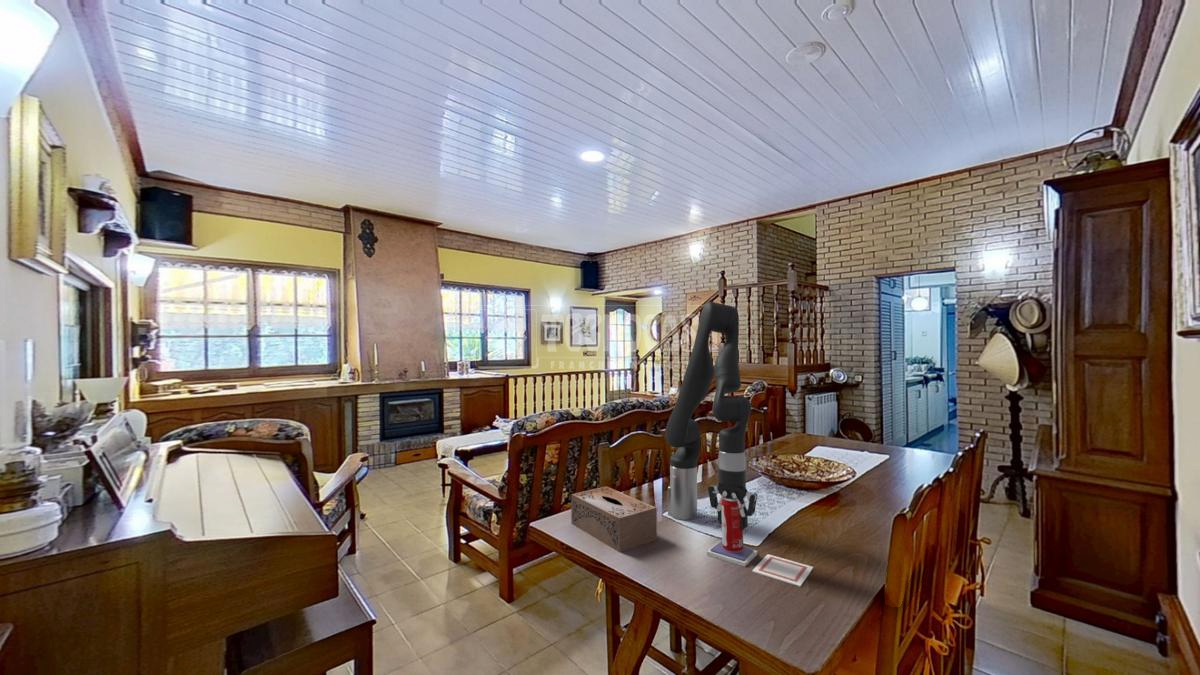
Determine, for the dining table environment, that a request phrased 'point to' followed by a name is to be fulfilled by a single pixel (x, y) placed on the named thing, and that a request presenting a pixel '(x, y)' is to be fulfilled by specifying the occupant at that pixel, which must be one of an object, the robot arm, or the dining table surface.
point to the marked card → (783, 570)
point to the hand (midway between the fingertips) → (732, 526)
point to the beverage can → (731, 526)
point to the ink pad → (732, 554)
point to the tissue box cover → (614, 518)
